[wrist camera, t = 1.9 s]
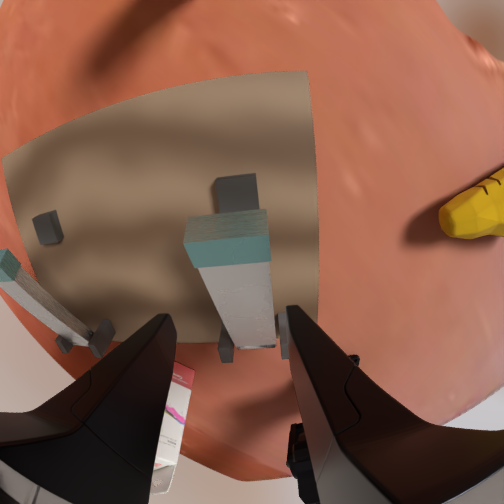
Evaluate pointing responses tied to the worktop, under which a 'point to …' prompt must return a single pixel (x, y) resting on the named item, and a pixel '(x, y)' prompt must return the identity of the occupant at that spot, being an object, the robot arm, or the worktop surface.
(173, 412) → the ink cartridge box
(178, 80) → the worktop surface
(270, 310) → the bar
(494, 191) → the torch
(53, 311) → the bar
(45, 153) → the jig board
